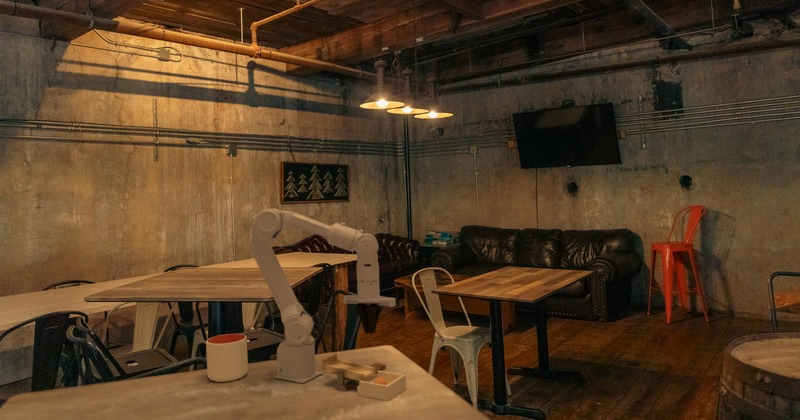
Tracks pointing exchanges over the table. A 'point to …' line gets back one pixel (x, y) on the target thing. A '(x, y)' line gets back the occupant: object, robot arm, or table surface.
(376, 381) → the ball
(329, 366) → the catapult lever
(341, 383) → the pivot bracket
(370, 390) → the tray
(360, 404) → the table surface
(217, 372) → the cup
